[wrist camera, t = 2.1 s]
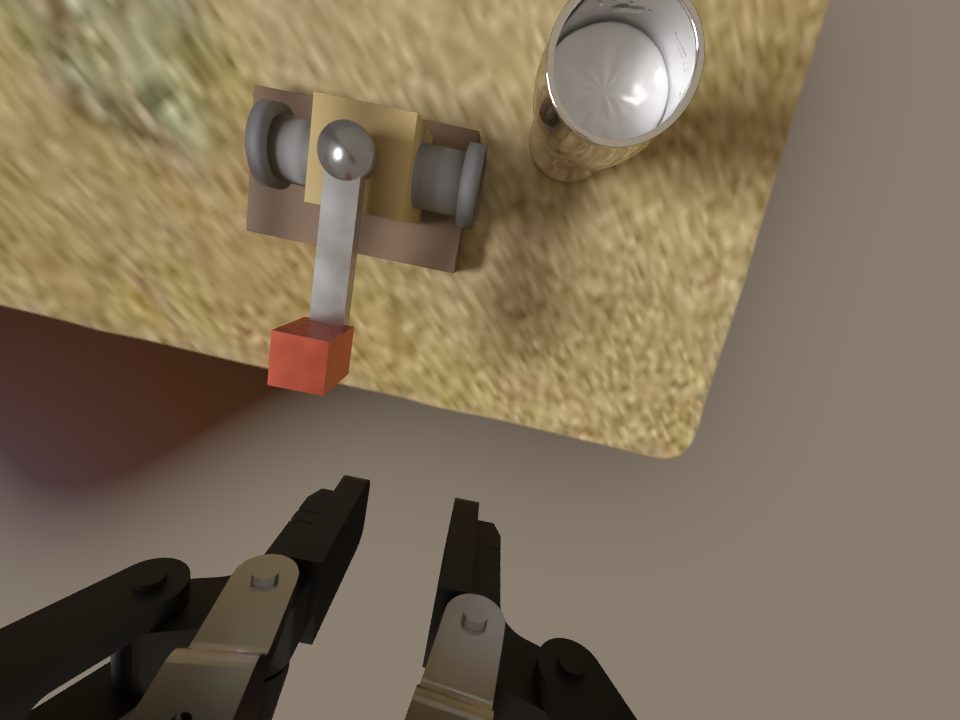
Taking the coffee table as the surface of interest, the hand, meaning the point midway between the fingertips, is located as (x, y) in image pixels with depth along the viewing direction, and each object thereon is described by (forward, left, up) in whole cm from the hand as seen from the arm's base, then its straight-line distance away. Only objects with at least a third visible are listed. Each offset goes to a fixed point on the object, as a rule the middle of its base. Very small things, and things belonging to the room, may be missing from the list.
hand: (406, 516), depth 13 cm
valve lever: (-8, +5, -15) cm, 18 cm away
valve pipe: (-9, +10, -25) cm, 29 cm away
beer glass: (+5, +16, -25) cm, 30 cm away
